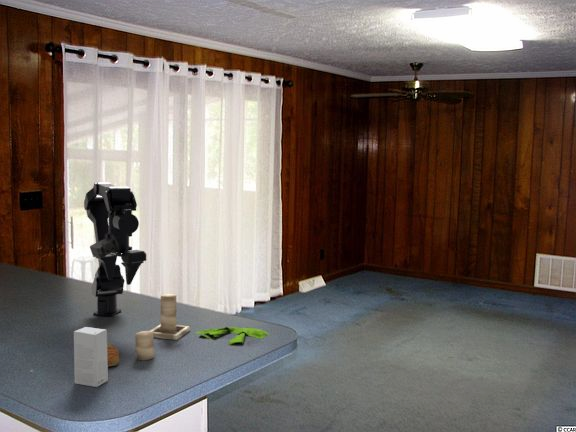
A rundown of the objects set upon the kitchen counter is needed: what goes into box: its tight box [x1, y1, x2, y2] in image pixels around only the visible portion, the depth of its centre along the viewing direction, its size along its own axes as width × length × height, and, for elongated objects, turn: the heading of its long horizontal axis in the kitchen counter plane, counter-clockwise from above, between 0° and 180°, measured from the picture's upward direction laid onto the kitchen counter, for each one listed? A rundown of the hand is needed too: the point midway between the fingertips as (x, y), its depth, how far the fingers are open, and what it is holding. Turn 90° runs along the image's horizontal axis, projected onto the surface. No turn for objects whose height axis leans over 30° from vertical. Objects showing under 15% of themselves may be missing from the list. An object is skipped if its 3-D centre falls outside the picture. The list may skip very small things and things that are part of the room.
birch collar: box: [149, 323, 191, 341], centre depth 166 cm, size 9×9×1 cm
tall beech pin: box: [160, 293, 178, 334], centre depth 166 cm, size 4×4×11 cm
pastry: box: [107, 343, 120, 368], centre depth 143 cm, size 9×7×4 cm
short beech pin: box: [134, 330, 156, 361], centre depth 146 cm, size 4×4×6 cm
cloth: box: [194, 326, 270, 346], centre depth 165 cm, size 20×22×2 cm
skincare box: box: [73, 326, 109, 388], centre depth 130 cm, size 6×4×12 cm
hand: (119, 282), depth 171 cm, fingers open, 9 cm apart
